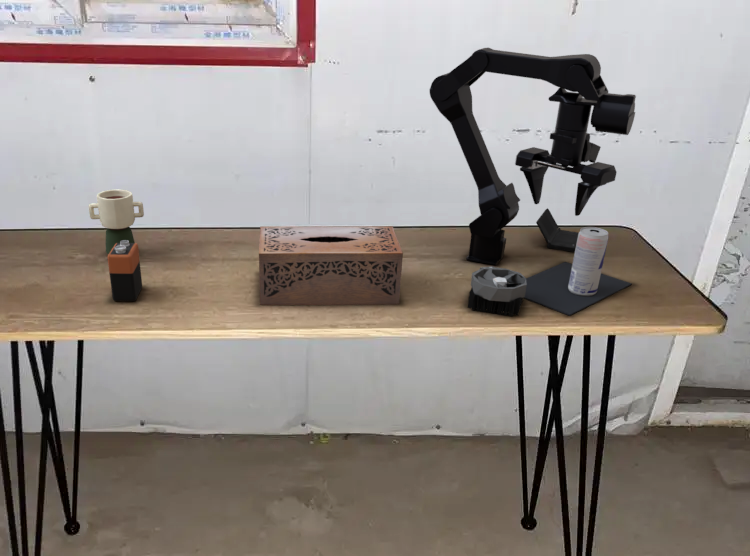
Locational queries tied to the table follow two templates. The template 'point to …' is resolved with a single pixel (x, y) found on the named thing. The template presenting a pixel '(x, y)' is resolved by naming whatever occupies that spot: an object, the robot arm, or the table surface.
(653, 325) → the table surface
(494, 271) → the cpu cooler
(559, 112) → the robot arm
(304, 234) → the tissue box cover
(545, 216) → the handheld gaming console
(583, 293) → the energy drink
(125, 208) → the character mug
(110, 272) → the battery
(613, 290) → the mouse pad
